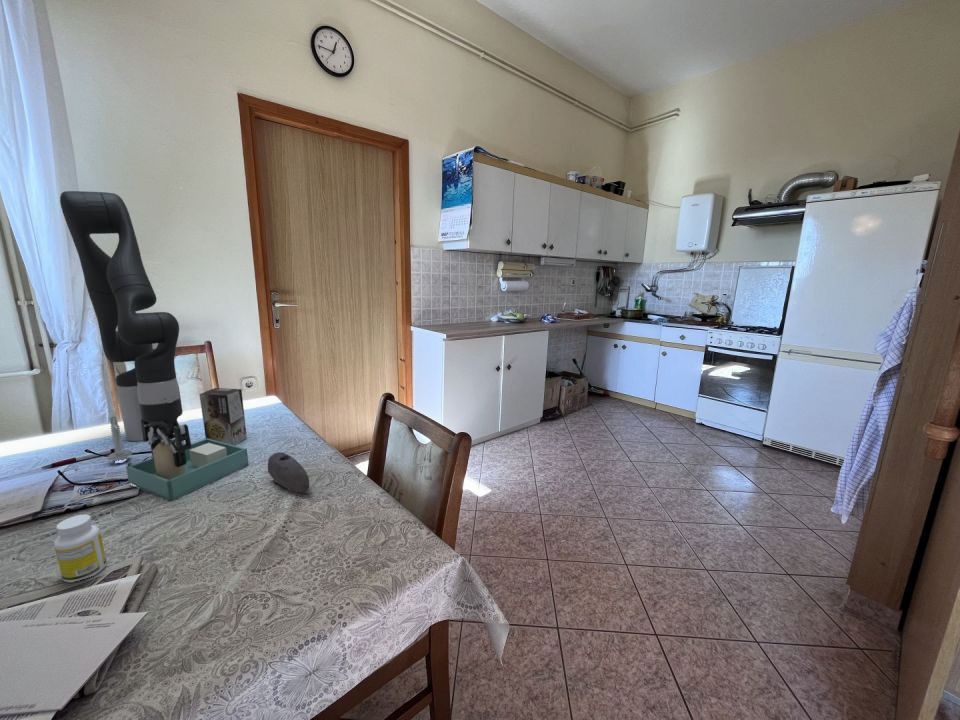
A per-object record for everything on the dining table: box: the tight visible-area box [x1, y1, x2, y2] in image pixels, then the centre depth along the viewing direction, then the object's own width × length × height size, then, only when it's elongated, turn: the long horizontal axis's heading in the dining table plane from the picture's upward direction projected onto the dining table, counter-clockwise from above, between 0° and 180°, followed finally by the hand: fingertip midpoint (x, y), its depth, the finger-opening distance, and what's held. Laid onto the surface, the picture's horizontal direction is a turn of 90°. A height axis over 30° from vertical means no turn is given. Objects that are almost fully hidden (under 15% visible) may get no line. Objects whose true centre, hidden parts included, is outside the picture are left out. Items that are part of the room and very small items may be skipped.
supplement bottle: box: [53, 514, 107, 583], centre depth 65 cm, size 5×5×10 cm
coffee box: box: [199, 387, 248, 446], centre depth 117 cm, size 9×6×16 cm
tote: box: [125, 438, 249, 502], centre depth 98 cm, size 16×19×5 cm
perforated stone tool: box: [267, 452, 310, 494], centre depth 94 cm, size 15×5×7 cm, turn 51°
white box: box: [189, 443, 227, 468], centre depth 102 cm, size 7×5×4 cm
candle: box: [153, 441, 186, 480], centre depth 94 cm, size 6×6×10 cm
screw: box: [107, 416, 133, 462], centre depth 103 cm, size 13×5×5 cm
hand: (169, 462), depth 94 cm, fingers open, 8 cm apart
